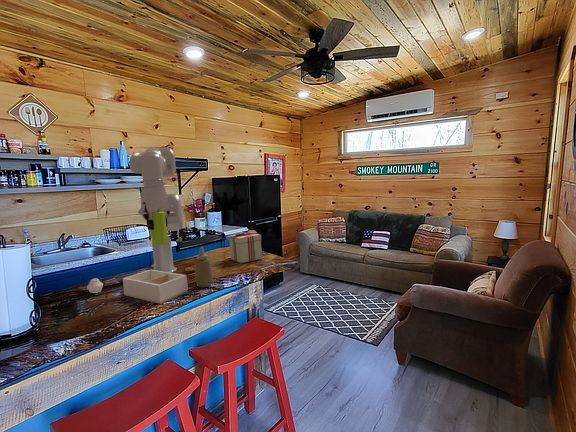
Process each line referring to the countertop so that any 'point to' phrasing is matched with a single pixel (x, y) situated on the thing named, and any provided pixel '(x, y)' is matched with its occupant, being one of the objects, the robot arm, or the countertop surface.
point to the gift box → (245, 246)
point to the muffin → (95, 286)
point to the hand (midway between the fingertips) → (157, 227)
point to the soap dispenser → (159, 228)
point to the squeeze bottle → (203, 270)
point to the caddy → (155, 286)
